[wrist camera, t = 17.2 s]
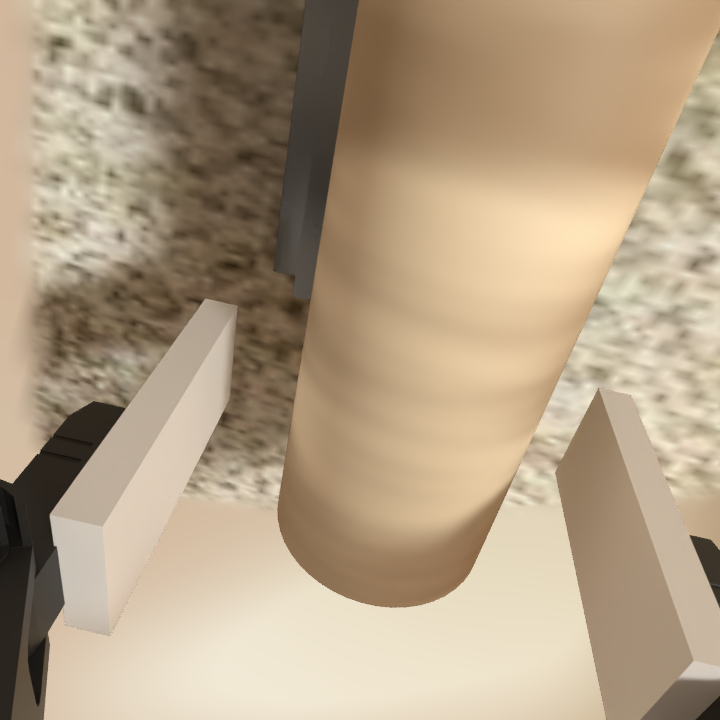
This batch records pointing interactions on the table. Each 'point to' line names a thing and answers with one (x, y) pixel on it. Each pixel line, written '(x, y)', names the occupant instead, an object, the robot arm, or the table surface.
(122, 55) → the table surface
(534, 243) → the axle
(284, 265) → the cradle
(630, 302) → the table surface
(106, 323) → the table surface
